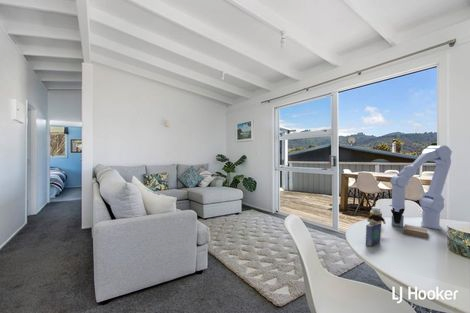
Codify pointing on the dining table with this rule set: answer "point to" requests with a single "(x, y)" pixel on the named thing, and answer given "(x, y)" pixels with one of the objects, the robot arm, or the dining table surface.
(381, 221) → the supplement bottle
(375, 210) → the grandmother figurine
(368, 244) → the flask
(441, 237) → the dining table surface
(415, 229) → the walnut block
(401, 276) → the dining table surface
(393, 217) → the slate cube
